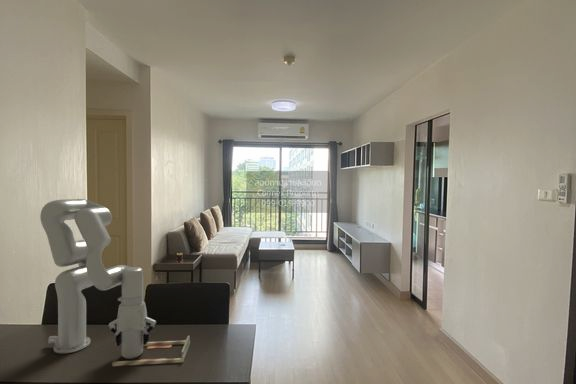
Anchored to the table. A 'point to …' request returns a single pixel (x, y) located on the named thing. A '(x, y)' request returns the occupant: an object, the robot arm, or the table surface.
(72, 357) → the table surface
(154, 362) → the tan bent flat bar
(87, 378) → the table surface
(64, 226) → the robot arm
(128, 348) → the can
